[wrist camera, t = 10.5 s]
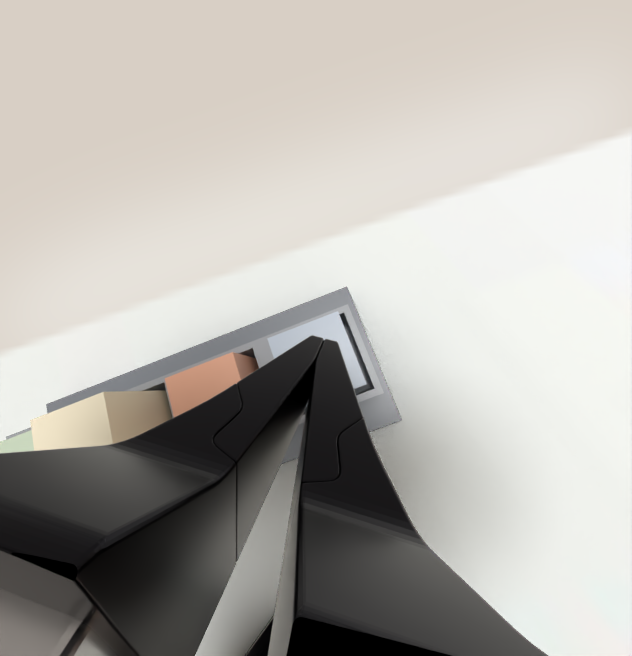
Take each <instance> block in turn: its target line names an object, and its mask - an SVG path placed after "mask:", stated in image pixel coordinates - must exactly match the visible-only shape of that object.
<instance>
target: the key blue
mask: <svg viewBox="0 0 632 656" xmlns="http://www.w3.org/2000/svg"><path fill="white" fill-rule="evenodd" d="M311 335H314V336H318V337H321V338H323V339H324V340H325V339H329V340H333V341H337V342H338V344H339V347H340V350H341V353H342V355H343V358H344V361H345V364H346V367H347V370H348V373H349V376H350V379H351V382H352V385H353V388H354V389H355V388H358V387H361V386H363V385H366V384H367V383H366V380H365V378H364V375H363V373H362V370H361V368H360V365H359V363H358V360H357V358H356V355H355V353H354V350H353V348H352V345H351V343H350V340H349V338H348V335H347V333H346V330H345V328H344V325H343V322H342V320H341V317H340V315H339V312H338V311H337V312H334V313H332V314H329V315H326V316H324V317H321V318H319V319H316V320H313V321H311V322H308V323H306V324H303V325H301V326H298V327H295V328H293V329H290V330H288V331H285V332H283V333H280V334H277V335H275V336H272V337H270V338H267V339H268V342H269V345H270V348H271V351H272V354H273V357H274V359H275V358H276V357H278V356H279V355H281V354H282V353H284V352H286V351H287V350H289V349H290V348H292V347H293V346H295V345H297V344H298V343H300V342H301V341H303V340H304V339H306V338H308V337H309V336H311ZM307 404H308V403H307ZM306 407H307V406H306Z"/></svg>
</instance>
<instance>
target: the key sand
mask: <svg viewBox="0 0 632 656" xmlns="http://www.w3.org/2000/svg"><path fill="white" fill-rule="evenodd" d="M172 418H173V417H172V412H171V408H170V404H169V400H168V396H167V392H166V390H159V391H116V392H101V393H99V394H96V395H94V396H91V397H89V398H86V399H84V400H81V401H78V402H76V403H73V404H71V405H68V406H66V407H63V408H60V409H58V410H55V411H53V412H50V413H48V414H45V415H43V416H40V417H37V418H35V419H32V420H30V422H31V430H32V438H33V445H34V451H37V450H50V449H64V448H77V447H90V446H102V445H109V444H115V443H118V442H122V441H125V440H128V439H130V438H133V437H135V436H137V435H140V434H142V433H144V432H146V431H148V430H150V429H152V428H154V427H156V426H158V425H160V424H162V423H164V422H166V421H168V420H170V419H172Z"/></svg>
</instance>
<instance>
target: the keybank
mask: <svg viewBox="0 0 632 656" xmlns="http://www.w3.org/2000/svg"><path fill="white" fill-rule="evenodd" d="M337 311H338V312H339V315H340V317H341V320H342V322H343V325H344V328H345V330H346V333H347V335H348V338H349V340H350V343H351V345H352V348H353V350H354V353H355V355H356V358H357V360H358V363H359V365H360V368H361V370H362V373H363V375H364V378H365V380H366V383H367V384H366V385H363V386H361V387H358V388H355V389H354V390H355V393H356V396H357V399H358V402H359V405H360V408H361V411H362V414H363V417H364V420H365V422H366V425H367V428H368V431H369V432H371V431H373V430H376V429H379V428H382V427H384V426H387V425H390V424H393V423H395V422H398V421H401V420H402V419H401V416H400V414H399V411H398V409H397V407H396V404H395V402H394V399H393V397H392V394H391V392H390V390H389V387H388V385H387V382H386V380H385V377H384V375H383V373H382V370H381V368H380V365H379V363H378V360H377V358H376V356H375V353H374V351H373V348H372V346H371V344H370V341H369V339H368V336H367V334H366V331H365V329H364V327H363V324H362V322H361V319H360V317H359V314H358V312H357V310H356V307H355V305H354V302H353V300H352V297H351V295H350V293H349V290H348V288H347V287H345V288H342V289H339V290H337V291H334V292H332V293H329V294H327V295H324V296H322V297H319V298H316V299H314V300H311V301H309V302H306V303H304V304H301V305H299V306H296V307H294V308H291V309H288V310H286V311H283V312H281V313H278V314H276V315H273V316H271V317H268V318H265V319H263V320H260V321H258V322H255V323H253V324H250V325H248V326H245V327H243V328H240V329H237V330H235V331H232V332H230V333H227V334H225V335H222V336H220V337H217V338H214V339H212V340H209V341H207V342H204V343H202V344H199V345H197V346H194V347H192V348H189V349H186V350H184V351H181V352H179V353H176V354H174V355H171V356H169V357H166V358H163V359H161V360H158V361H156V362H153V363H151V364H148V365H146V366H143V367H141V368H138V369H135V370H133V371H130V372H128V373H125V374H123V375H120V376H118V377H115V378H113V379H110V380H107V381H105V382H102V383H100V384H97V385H95V386H92V387H90V388H87V389H84V390H82V391H79V392H77V393H74V394H72V395H69V396H67V397H64V398H62V399H59V400H56V401H54V402H51V403H49V404H46V406H47V413H50V412H53V411H55V410H58V409H60V408H63V407H66V406H68V405H71V404H73V403H76V402H78V401H81V400H84V399H86V398H89V397H91V396H94V395H96V394H99V393H101V392H116V391H159V390H166V392H167V396H168V400H169V404H170V408H171V412H172V417H173V418H174V415H173V411H172V407H171V403H170V399H169V395H168V390H167V386H166V382H165V378H167V377H169V376H172V375H174V374H177V373H180V372H182V371H185V370H187V369H190V368H192V367H195V366H198V365H200V364H203V363H205V362H208V361H211V360H213V359H216V358H218V357H221V356H223V355H226V354H229V353H231V352H235V353H238V354H242V355H245V356H249V357H253V358H256V360H257V363H258V366H259V368H260V367H262V366H264V365H265V364H267V363H268V362H270V361H271V360H273V359H274V357H273V354H272V351H271V348H270V345H269V342H268V339H267V338H270V337H272V336H275V335H277V334H280V333H283V332H285V331H288V330H290V329H293V328H295V327H298V326H301V325H303V324H306V323H308V322H311V321H313V320H316V319H319V318H321V317H324V316H326V315H329V314H332V313H334V312H337ZM306 410H307V407H306V409H305V411H304V413H303V416H302V418H301V420H300V422H299V425H298V427H297V429H296V431H295V434H294V436H293V438H292V440H291V442H290V445H289V447H288V449H287V451H286V454H285V456H284V458H283V460H282V462H281V464H283V463H285V462H288V461H291V460H294V459H296V458H299V453H300V447H301V441H302V434H303V428H304V421H305V415H306ZM30 430H31V428H28V429H25V430H23V431H20V432H18V433H15V434H13V435H10V436H7V437H6V439H9V438H12V437H15V436H17V435H20V434H22V433H25V432H27V431H30Z"/></svg>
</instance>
